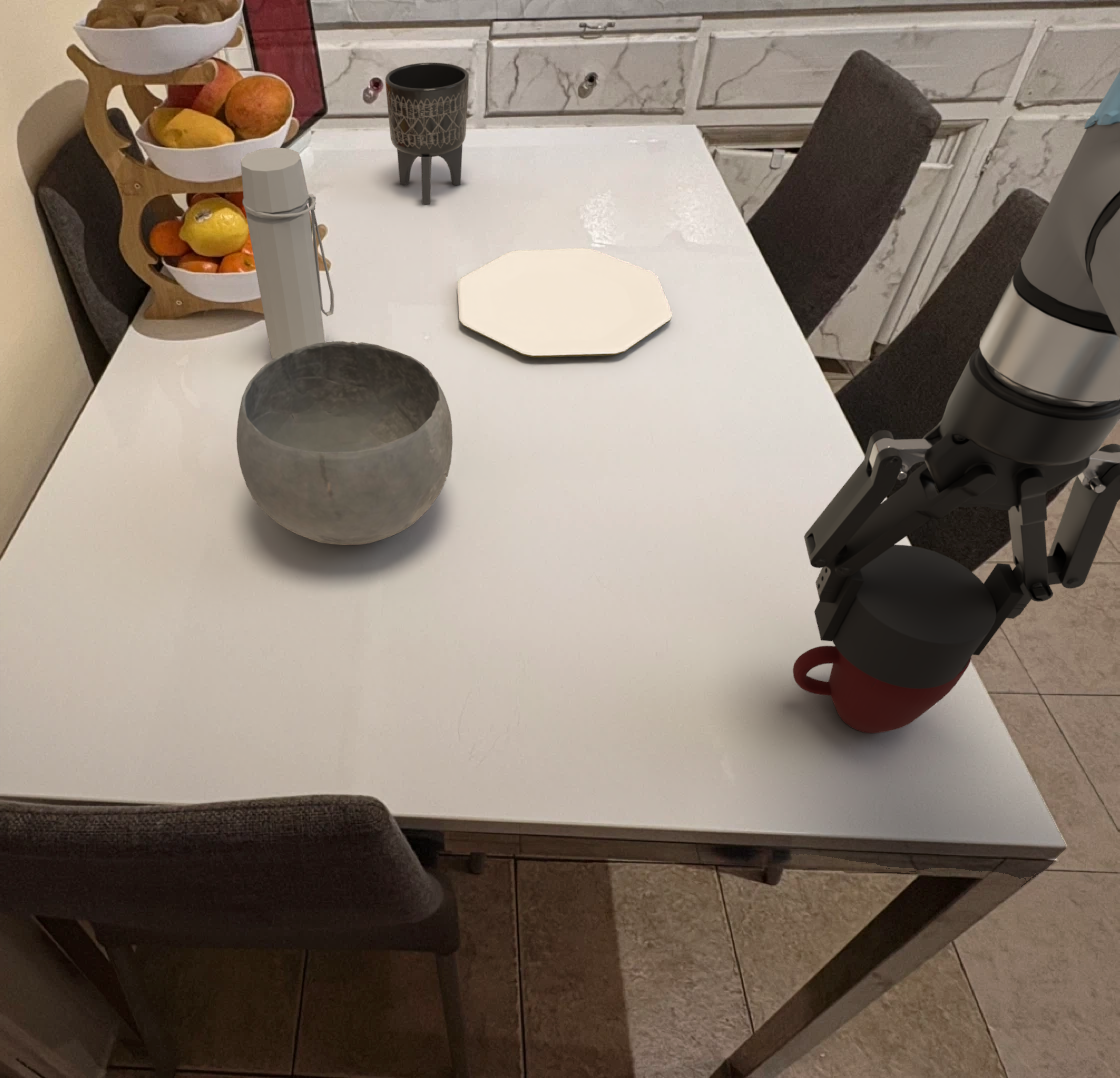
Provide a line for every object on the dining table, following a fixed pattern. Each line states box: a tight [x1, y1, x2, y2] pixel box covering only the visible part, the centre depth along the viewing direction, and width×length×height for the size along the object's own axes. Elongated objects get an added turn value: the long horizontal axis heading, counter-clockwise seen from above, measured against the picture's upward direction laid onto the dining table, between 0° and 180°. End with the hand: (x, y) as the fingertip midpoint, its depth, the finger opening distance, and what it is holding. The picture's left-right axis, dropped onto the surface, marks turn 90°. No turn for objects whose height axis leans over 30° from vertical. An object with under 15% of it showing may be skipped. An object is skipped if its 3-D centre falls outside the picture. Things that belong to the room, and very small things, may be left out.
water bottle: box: [240, 147, 335, 361], centre depth 99 cm, size 9×8×25 cm
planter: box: [384, 62, 470, 205], centre depth 136 cm, size 13×13×18 cm
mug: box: [792, 645, 972, 734], centre depth 64 cm, size 11×8×10 cm
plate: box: [456, 247, 673, 358], centre depth 113 cm, size 28×28×2 cm
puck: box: [832, 544, 996, 689], centre depth 59 cm, size 9×9×5 cm
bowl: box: [236, 340, 454, 546], centre depth 82 cm, size 20×20×15 cm
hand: (894, 632), depth 60 cm, fingers closed on puck, 9 cm apart
